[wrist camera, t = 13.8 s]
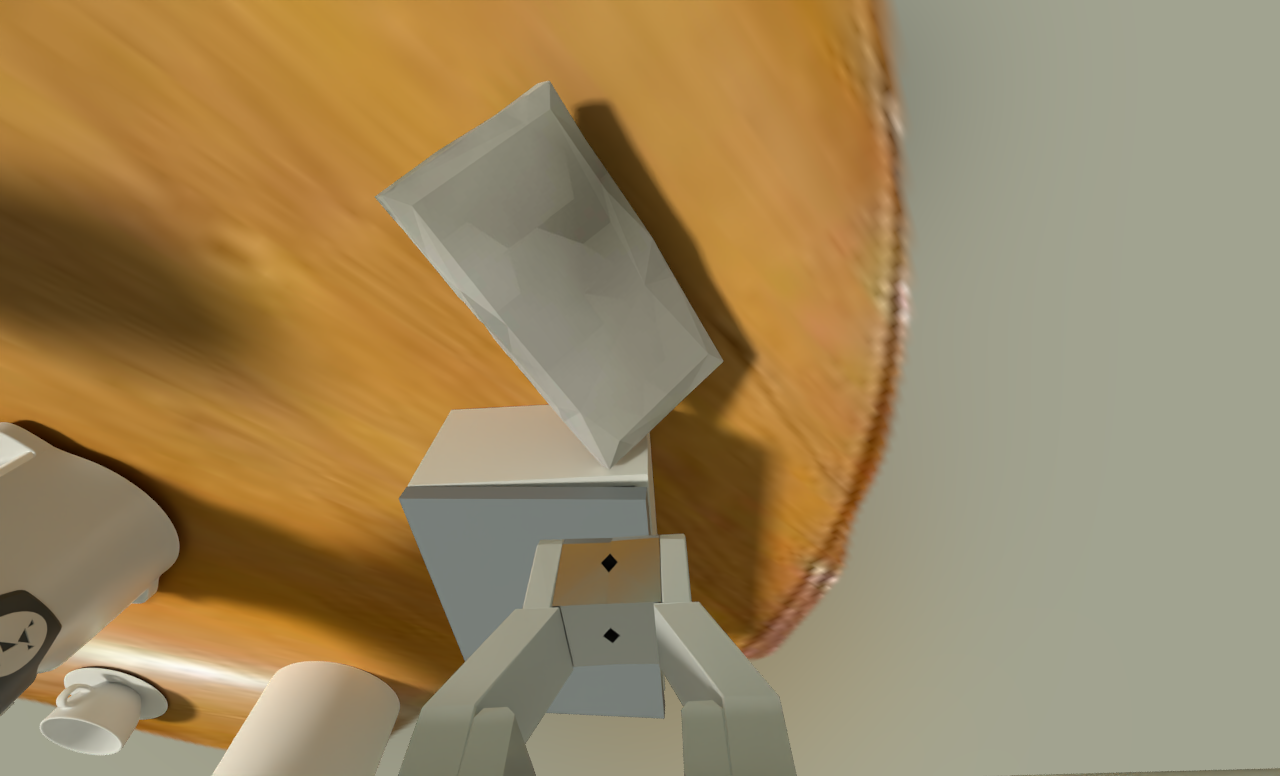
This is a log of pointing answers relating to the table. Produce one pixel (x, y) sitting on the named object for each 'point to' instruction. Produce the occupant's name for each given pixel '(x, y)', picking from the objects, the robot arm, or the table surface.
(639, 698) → the lid
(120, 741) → the teacup
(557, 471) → the storage box
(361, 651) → the table surface
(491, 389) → the table surface
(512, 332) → the packaged product
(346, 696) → the canister
